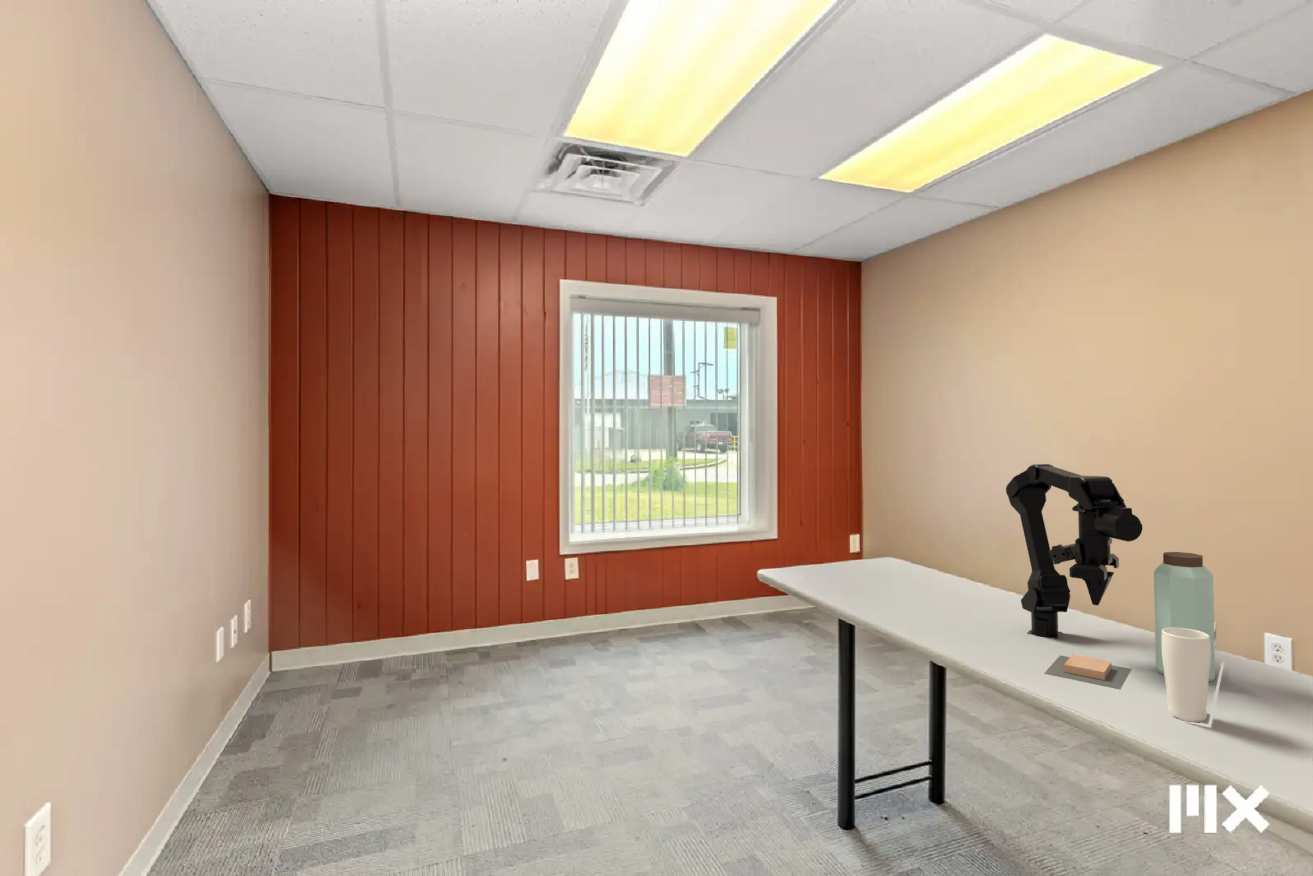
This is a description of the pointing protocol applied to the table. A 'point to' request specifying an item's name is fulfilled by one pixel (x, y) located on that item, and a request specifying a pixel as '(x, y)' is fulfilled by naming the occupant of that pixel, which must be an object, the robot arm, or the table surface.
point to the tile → (1088, 666)
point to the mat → (1112, 679)
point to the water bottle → (1183, 599)
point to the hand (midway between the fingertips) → (1095, 604)
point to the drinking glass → (1186, 672)
